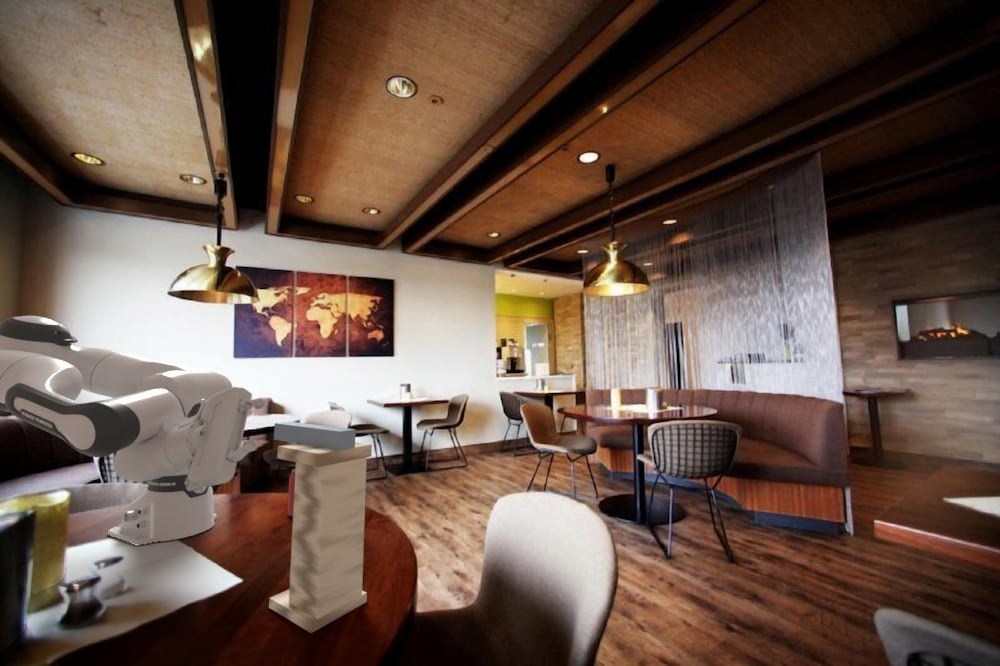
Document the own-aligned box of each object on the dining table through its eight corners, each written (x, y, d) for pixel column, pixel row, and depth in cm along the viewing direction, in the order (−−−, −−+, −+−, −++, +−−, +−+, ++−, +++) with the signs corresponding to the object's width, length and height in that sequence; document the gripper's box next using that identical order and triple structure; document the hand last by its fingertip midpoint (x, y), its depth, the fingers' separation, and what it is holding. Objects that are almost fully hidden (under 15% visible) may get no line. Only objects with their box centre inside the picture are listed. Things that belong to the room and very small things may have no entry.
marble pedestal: (268, 607, 67) (277, 446, 70) (324, 581, 75) (330, 438, 78) (311, 633, 60) (319, 453, 63) (366, 602, 69) (371, 444, 71)
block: (273, 439, 77) (274, 423, 77) (289, 437, 79) (290, 421, 80) (339, 450, 66) (339, 431, 66) (354, 447, 68) (355, 429, 69)
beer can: (303, 519, 108) (305, 472, 109) (281, 517, 109) (284, 471, 110) (319, 511, 114) (321, 467, 115) (298, 509, 115) (300, 466, 117)
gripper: (167, 489, 74) (235, 467, 73) (198, 393, 87) (256, 374, 85) (196, 498, 79) (260, 478, 77) (221, 406, 92) (277, 388, 90)
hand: (258, 422), depth 82 cm, fingers open, 8 cm apart
